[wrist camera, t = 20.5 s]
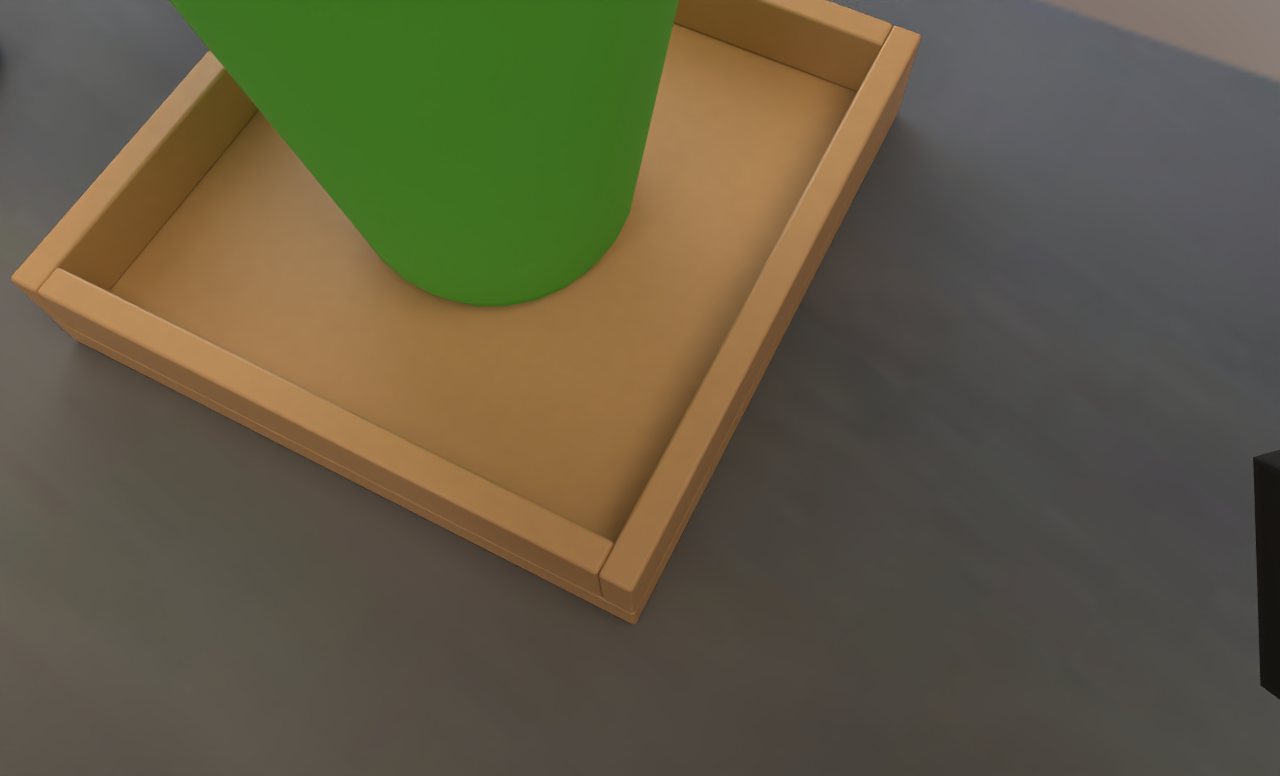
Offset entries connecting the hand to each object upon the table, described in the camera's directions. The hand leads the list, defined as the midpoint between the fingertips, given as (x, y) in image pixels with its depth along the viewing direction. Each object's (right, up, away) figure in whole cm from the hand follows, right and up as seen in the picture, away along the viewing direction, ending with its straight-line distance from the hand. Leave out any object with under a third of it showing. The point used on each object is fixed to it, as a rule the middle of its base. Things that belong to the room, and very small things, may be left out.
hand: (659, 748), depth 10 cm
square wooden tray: (-3, +7, +11) cm, 13 cm away
